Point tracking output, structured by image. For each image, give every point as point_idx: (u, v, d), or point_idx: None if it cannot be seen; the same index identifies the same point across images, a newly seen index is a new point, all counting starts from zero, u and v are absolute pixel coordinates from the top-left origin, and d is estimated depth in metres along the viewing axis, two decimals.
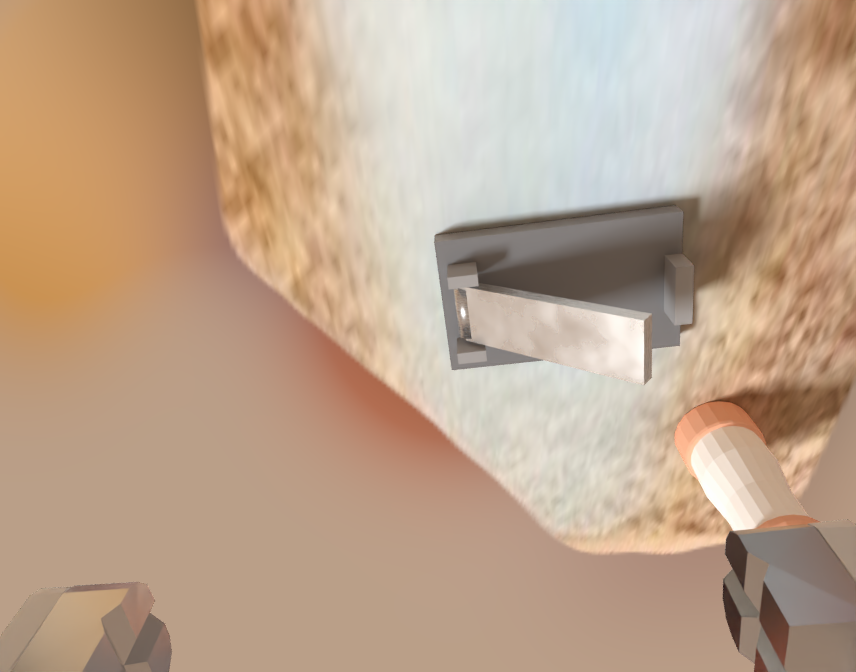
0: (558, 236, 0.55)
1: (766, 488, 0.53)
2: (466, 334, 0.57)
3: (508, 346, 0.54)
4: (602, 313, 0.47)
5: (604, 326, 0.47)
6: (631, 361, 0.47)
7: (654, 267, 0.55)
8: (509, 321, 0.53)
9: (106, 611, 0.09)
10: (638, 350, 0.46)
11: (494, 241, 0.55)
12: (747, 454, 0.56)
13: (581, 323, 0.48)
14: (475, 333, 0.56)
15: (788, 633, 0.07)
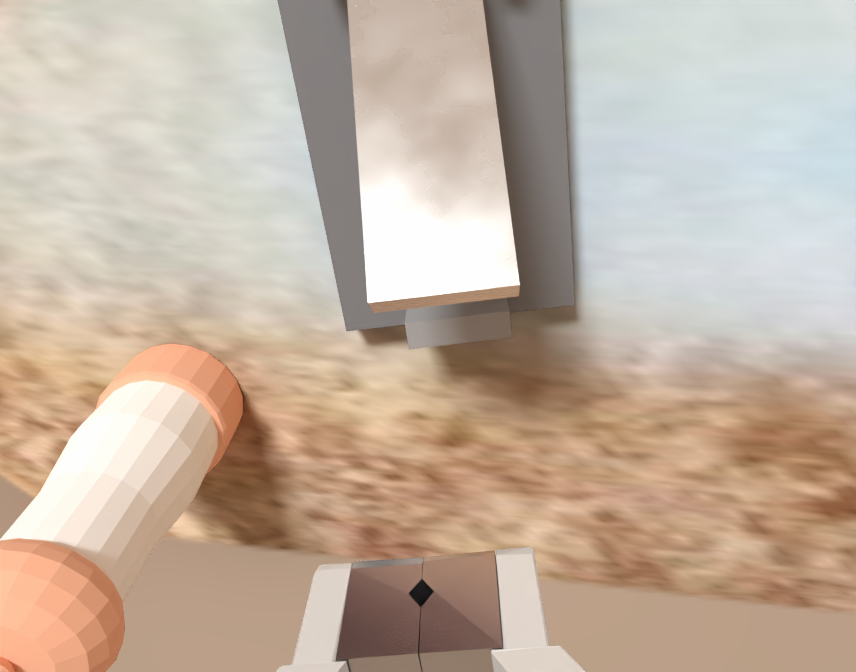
0: (547, 107, 0.30)
1: (146, 529, 0.29)
2: None
3: (359, 7, 0.25)
4: (506, 200, 0.22)
5: (478, 206, 0.23)
6: (415, 270, 0.22)
7: None
8: (420, 6, 0.25)
9: (409, 586, 0.08)
10: (447, 281, 0.22)
11: None
12: (187, 473, 0.33)
13: (468, 158, 0.23)
14: None
15: (423, 660, 0.08)
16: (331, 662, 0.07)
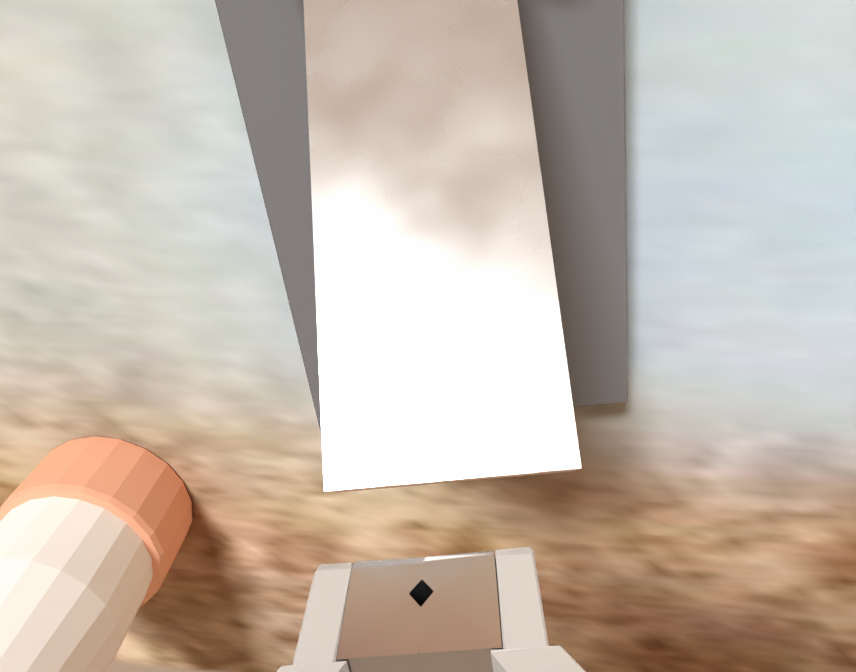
0: (599, 139, 0.21)
1: None
2: None
3: None
4: (556, 316, 0.13)
5: (509, 325, 0.14)
6: (404, 436, 0.13)
7: None
8: None
9: (409, 586, 0.08)
10: (457, 457, 0.13)
11: None
12: (98, 638, 0.24)
13: (492, 242, 0.14)
14: None
15: (422, 660, 0.08)
16: (331, 662, 0.07)
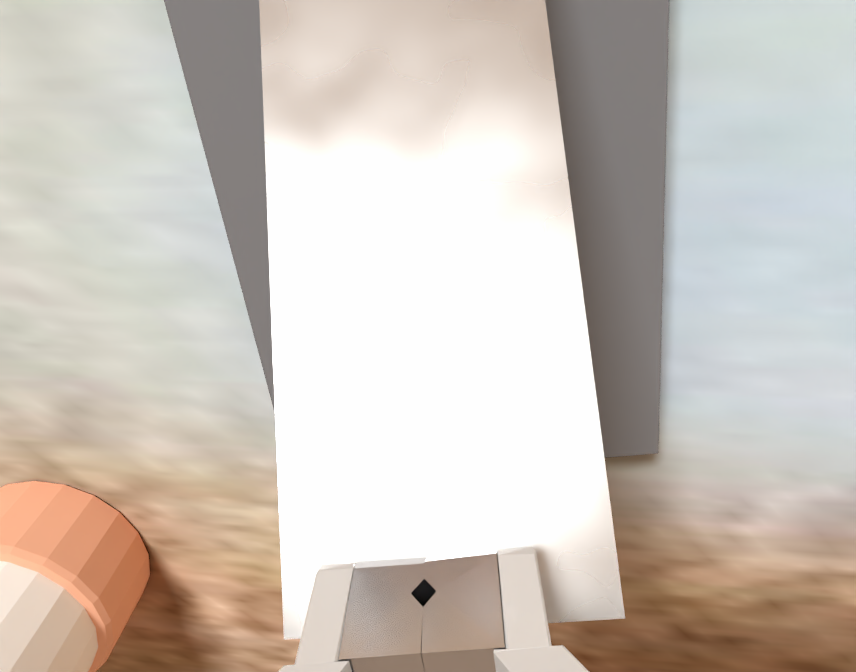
0: (634, 141, 0.17)
1: None
2: None
3: None
4: (592, 406, 0.10)
5: (529, 419, 0.10)
6: None
7: None
8: None
9: (411, 586, 0.08)
10: None
11: None
12: None
13: (508, 304, 0.11)
14: None
15: (425, 659, 0.08)
16: (334, 662, 0.07)
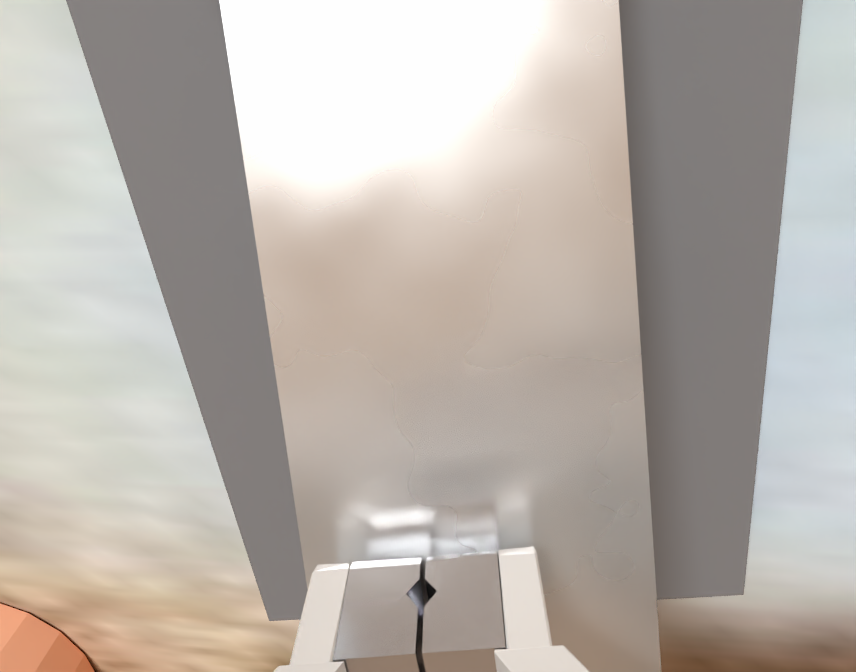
0: (737, 201, 0.12)
1: None
2: None
3: (256, 21, 0.09)
4: (652, 610, 0.09)
5: (584, 620, 0.10)
6: None
7: None
8: (435, 26, 0.08)
9: (406, 586, 0.08)
10: None
11: None
12: None
13: (563, 501, 0.09)
14: None
15: (426, 659, 0.08)
16: (328, 662, 0.07)
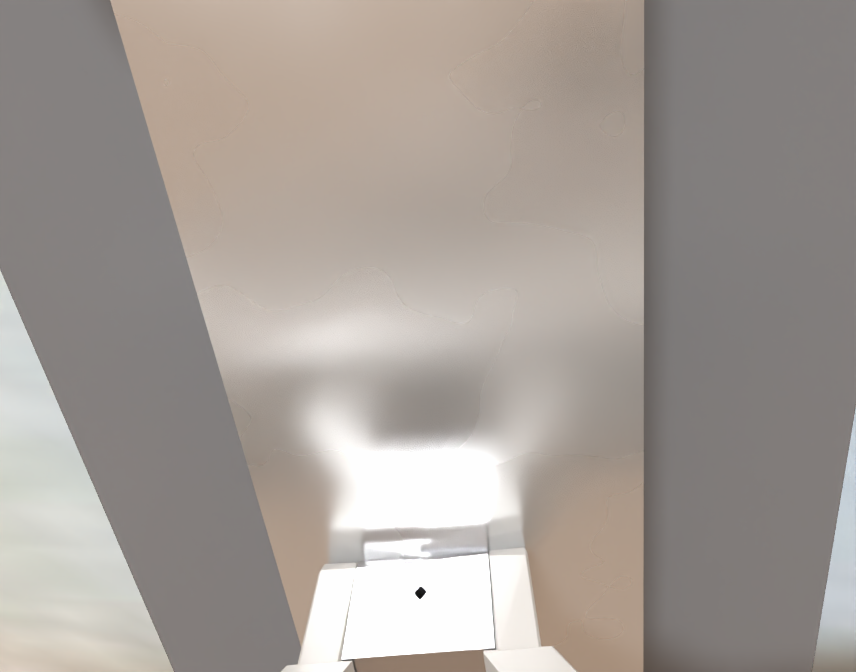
0: (815, 286, 0.09)
1: None
2: None
3: (181, 93, 0.07)
4: (638, 661, 0.10)
5: None
6: None
7: None
8: (410, 101, 0.07)
9: (414, 586, 0.08)
10: None
11: None
12: None
13: (556, 578, 0.09)
14: None
15: (415, 660, 0.08)
16: (337, 661, 0.07)
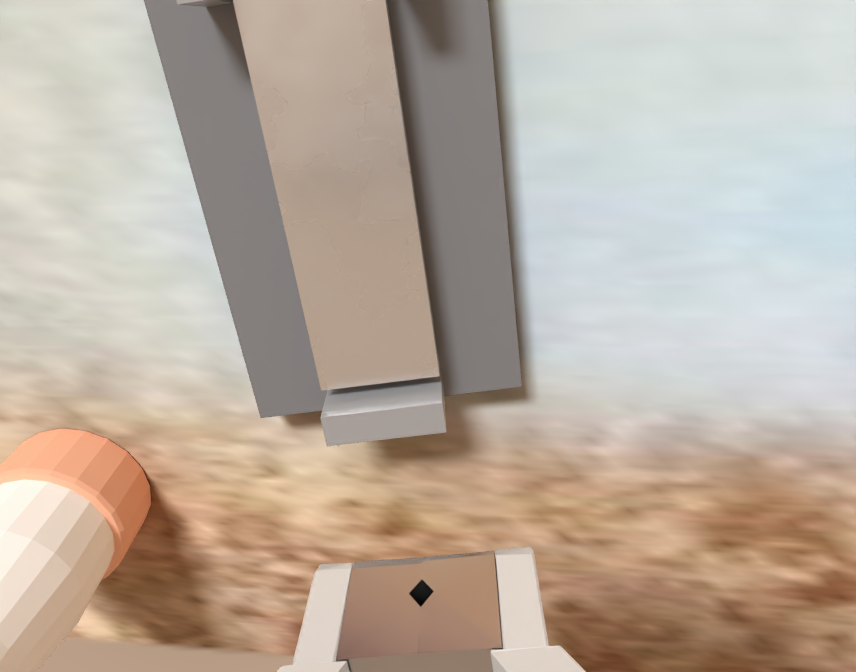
0: (481, 167, 0.26)
1: None
2: None
3: (268, 100, 0.23)
4: (428, 309, 0.27)
5: (404, 314, 0.27)
6: (356, 366, 0.28)
7: None
8: (334, 102, 0.23)
9: (409, 586, 0.08)
10: (382, 374, 0.28)
11: (473, 20, 0.24)
12: (65, 597, 0.28)
13: (394, 271, 0.26)
14: None
15: (422, 660, 0.08)
16: (331, 662, 0.07)
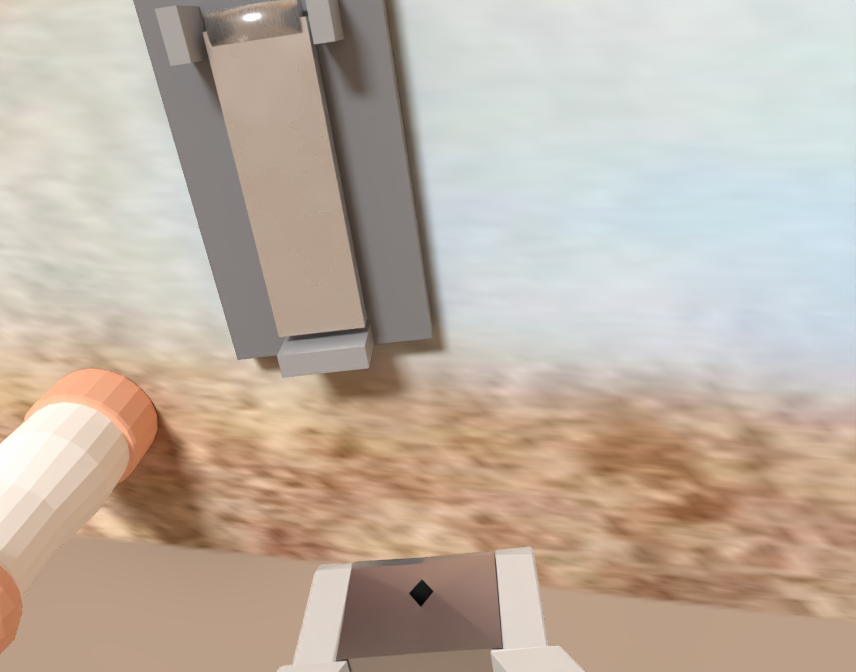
0: (392, 174, 0.36)
1: (48, 531, 0.35)
2: (217, 37, 0.32)
3: (235, 128, 0.33)
4: (354, 277, 0.37)
5: (337, 281, 0.37)
6: (303, 319, 0.38)
7: None
8: (281, 129, 0.33)
9: (409, 586, 0.08)
10: (323, 325, 0.38)
11: (381, 70, 0.34)
12: (93, 483, 0.38)
13: (328, 249, 0.36)
14: (227, 55, 0.32)
15: (422, 660, 0.08)
16: (332, 662, 0.07)
